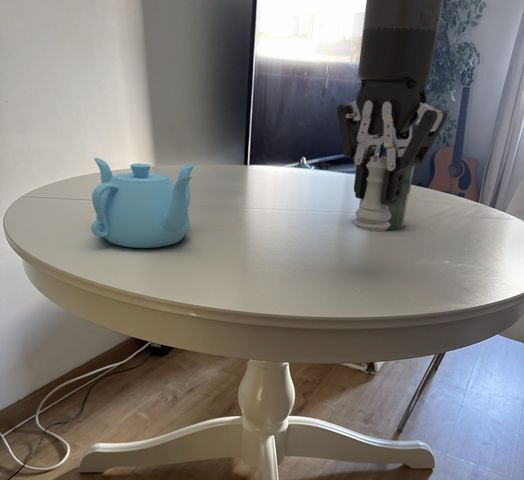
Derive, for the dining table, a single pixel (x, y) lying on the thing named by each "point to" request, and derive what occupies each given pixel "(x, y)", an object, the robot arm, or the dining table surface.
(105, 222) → the teapot
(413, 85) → the robot arm
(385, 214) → the rook chess piece
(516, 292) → the dining table surface
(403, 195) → the holder
